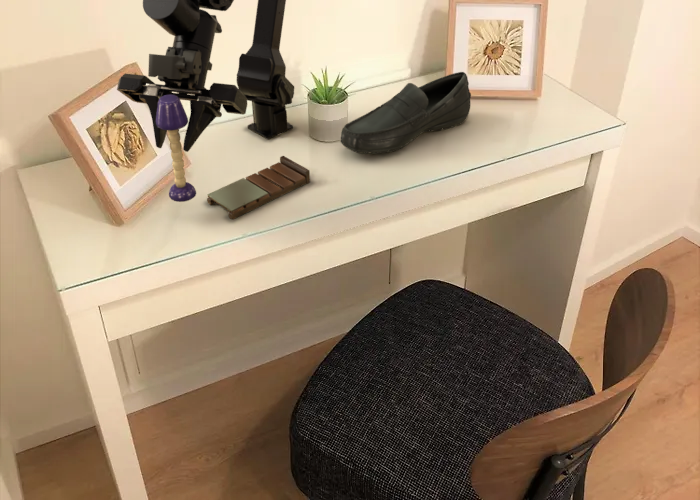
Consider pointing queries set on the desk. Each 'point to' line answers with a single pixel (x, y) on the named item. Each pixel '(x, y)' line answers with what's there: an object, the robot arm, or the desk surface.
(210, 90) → the robot arm
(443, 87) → the loafer
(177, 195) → the toy lamp
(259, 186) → the toy bed
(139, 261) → the desk surface
